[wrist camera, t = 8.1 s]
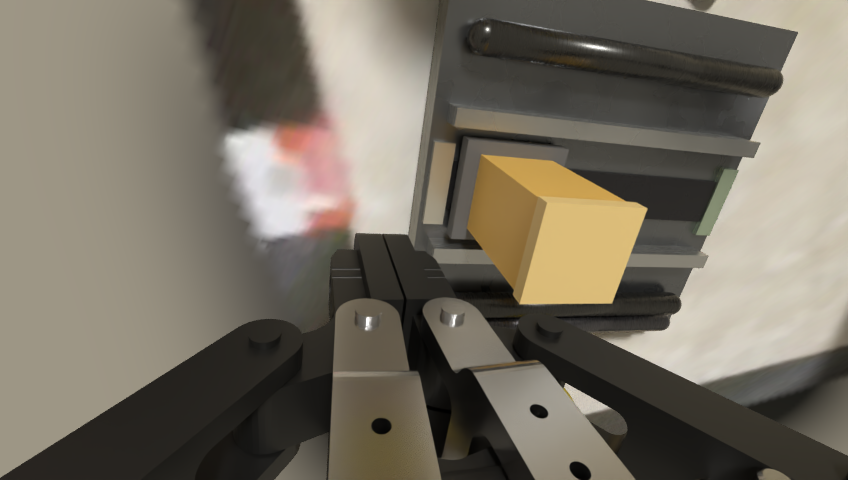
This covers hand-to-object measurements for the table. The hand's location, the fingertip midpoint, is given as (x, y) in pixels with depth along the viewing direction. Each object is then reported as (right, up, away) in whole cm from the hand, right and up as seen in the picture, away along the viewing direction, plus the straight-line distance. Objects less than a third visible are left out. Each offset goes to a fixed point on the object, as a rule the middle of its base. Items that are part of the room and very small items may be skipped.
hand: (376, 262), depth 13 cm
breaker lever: (+5, +3, +8) cm, 10 cm away
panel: (+10, +4, +11) cm, 15 cm away
